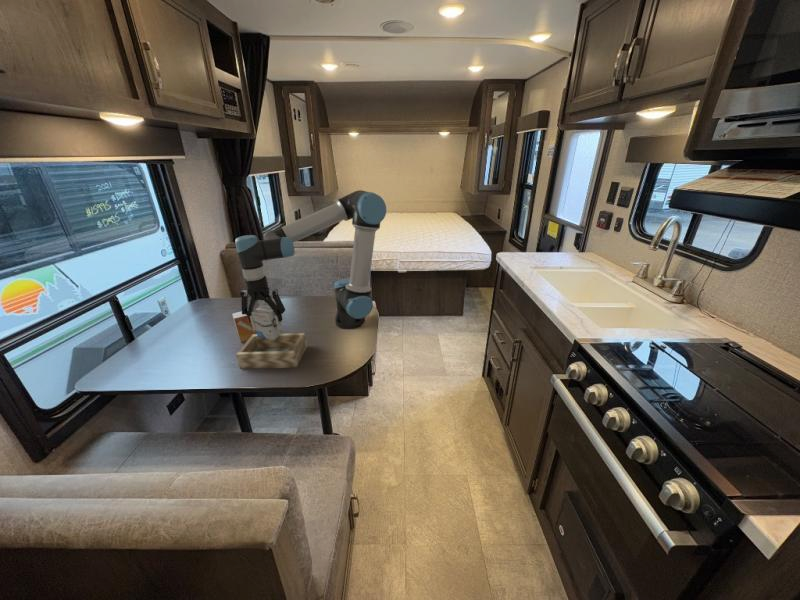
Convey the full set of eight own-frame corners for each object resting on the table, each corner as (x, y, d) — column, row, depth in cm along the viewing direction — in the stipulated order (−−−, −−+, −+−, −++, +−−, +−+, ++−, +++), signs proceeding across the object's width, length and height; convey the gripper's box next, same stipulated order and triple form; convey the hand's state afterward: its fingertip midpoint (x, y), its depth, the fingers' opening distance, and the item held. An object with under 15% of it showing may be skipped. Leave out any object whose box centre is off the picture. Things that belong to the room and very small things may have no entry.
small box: (241, 343, 142) (233, 318, 137) (238, 337, 147) (231, 313, 141) (259, 337, 146) (252, 313, 141) (256, 332, 151) (250, 308, 145)
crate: (307, 346, 138) (304, 333, 135) (296, 367, 124) (293, 353, 121) (256, 347, 138) (252, 334, 135) (240, 368, 125) (235, 354, 122)
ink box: (257, 337, 126) (248, 304, 120) (265, 331, 130) (257, 299, 124) (274, 340, 123) (266, 307, 117) (282, 334, 128) (274, 302, 121)
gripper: (287, 273, 119) (297, 323, 128) (231, 274, 119) (245, 324, 129) (280, 280, 112) (291, 332, 122) (221, 281, 112) (236, 333, 122)
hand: (267, 328), depth 125 cm, fingers closed on ink box, 9 cm apart
